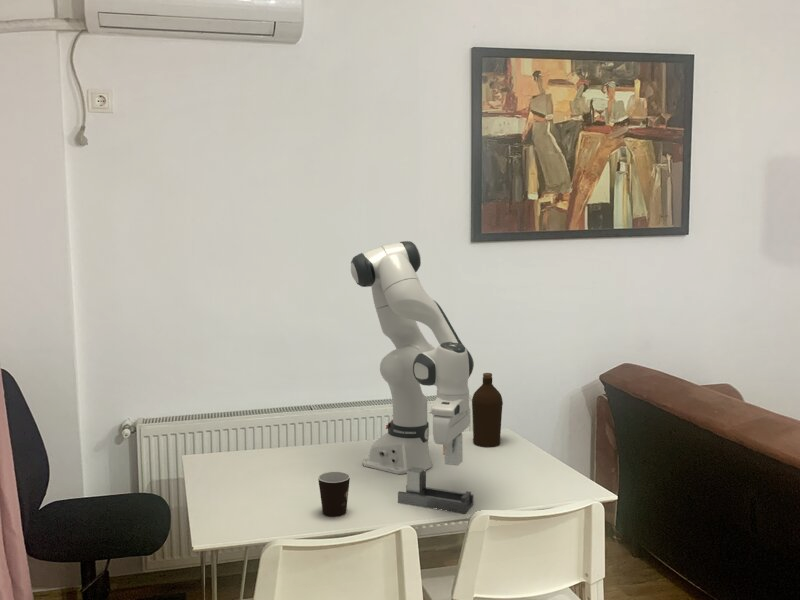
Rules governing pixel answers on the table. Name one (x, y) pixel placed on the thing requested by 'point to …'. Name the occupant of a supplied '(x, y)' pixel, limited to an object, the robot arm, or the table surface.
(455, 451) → the finger
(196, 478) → the table surface
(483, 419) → the olive oil
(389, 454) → the robot arm
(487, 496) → the table surface
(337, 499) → the coffee mug
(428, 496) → the rail
